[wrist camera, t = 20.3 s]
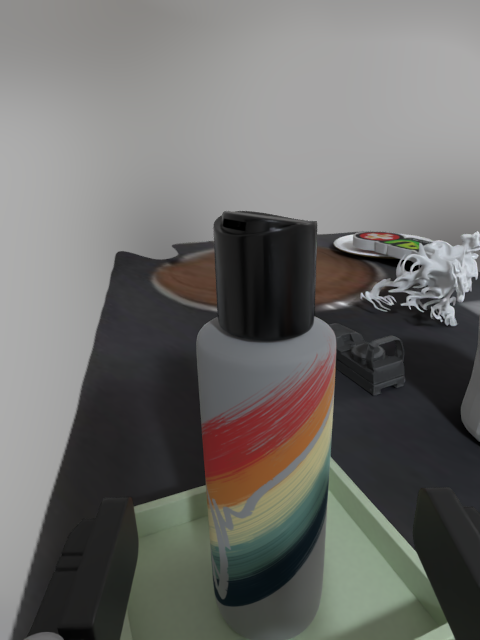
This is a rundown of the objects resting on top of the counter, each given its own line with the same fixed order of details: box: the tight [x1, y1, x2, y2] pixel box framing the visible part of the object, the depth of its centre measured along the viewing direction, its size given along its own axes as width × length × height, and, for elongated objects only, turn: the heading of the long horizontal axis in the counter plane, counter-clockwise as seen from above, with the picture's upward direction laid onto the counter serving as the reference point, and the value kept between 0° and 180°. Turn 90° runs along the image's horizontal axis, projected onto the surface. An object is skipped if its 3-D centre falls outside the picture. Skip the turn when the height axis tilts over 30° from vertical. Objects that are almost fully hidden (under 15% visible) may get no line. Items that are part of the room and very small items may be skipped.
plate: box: [334, 234, 434, 259], centre depth 93 cm, size 21×21×1 cm
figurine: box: [360, 231, 480, 326], centre depth 58 cm, size 13×15×12 cm
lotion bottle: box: [196, 211, 336, 640], centre depth 20 cm, size 6×6×20 cm
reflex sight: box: [329, 323, 406, 395], centre depth 46 cm, size 4×10×5 cm, turn 23°
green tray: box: [120, 457, 455, 640], centre depth 24 cm, size 15×13×2 cm
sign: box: [353, 232, 454, 263], centre depth 83 cm, size 22×2×10 cm
